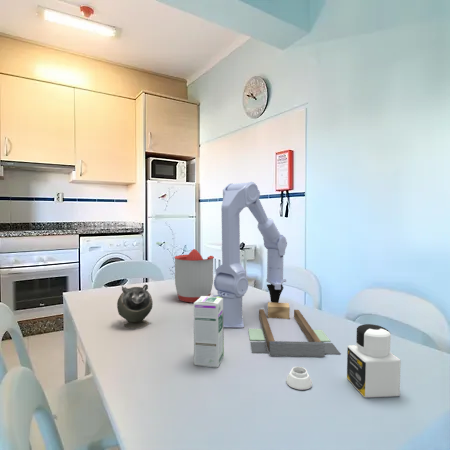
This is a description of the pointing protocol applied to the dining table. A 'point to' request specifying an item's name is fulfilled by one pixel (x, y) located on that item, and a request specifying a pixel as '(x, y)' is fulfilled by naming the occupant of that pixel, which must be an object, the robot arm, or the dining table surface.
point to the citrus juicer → (193, 276)
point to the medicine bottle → (373, 363)
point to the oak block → (278, 310)
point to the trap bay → (294, 348)
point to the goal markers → (259, 336)
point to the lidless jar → (299, 379)
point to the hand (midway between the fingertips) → (274, 304)
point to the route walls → (300, 320)
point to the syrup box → (208, 331)
